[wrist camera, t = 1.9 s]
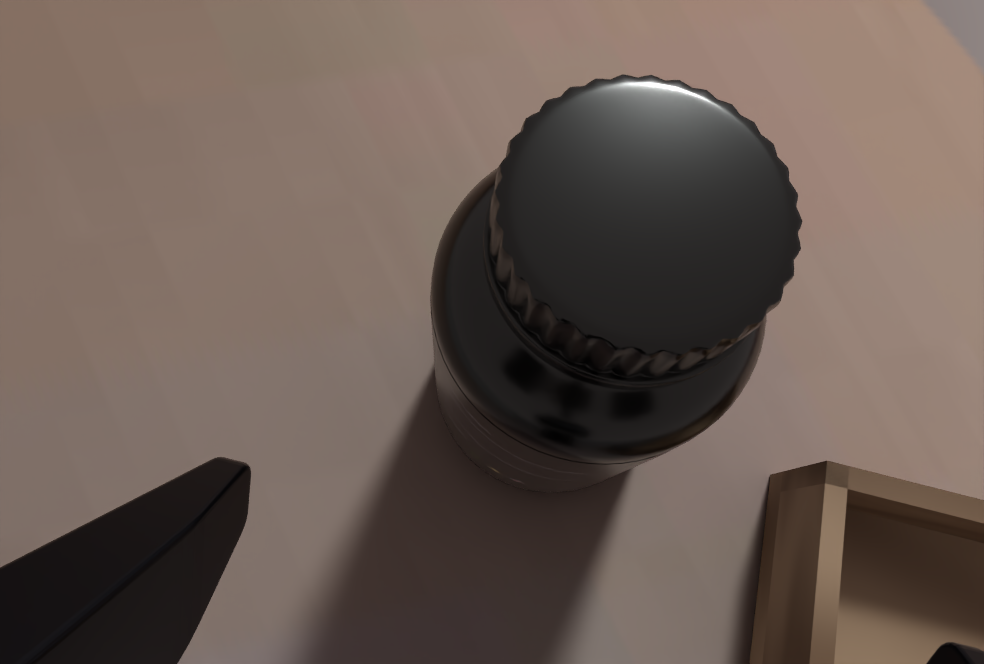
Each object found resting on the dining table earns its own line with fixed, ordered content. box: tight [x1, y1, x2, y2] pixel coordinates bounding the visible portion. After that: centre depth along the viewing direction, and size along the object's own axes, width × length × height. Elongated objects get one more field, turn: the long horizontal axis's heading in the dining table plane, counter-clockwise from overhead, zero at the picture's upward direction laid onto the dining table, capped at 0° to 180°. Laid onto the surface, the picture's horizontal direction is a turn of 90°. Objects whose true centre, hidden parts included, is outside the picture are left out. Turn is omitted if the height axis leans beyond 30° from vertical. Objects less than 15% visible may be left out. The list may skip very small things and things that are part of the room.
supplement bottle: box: [431, 75, 802, 493], centre depth 16 cm, size 7×7×12 cm
